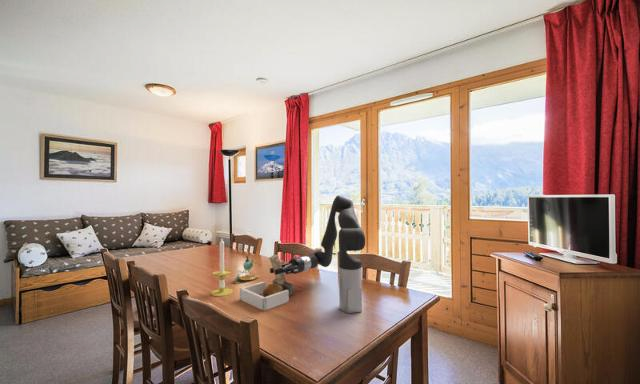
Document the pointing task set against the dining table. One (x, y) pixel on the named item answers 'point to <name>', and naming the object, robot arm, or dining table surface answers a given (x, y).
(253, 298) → the box
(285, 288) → the scraper
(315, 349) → the dining table surface
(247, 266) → the frog figurine
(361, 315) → the dining table surface
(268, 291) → the bread roll
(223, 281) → the candle
